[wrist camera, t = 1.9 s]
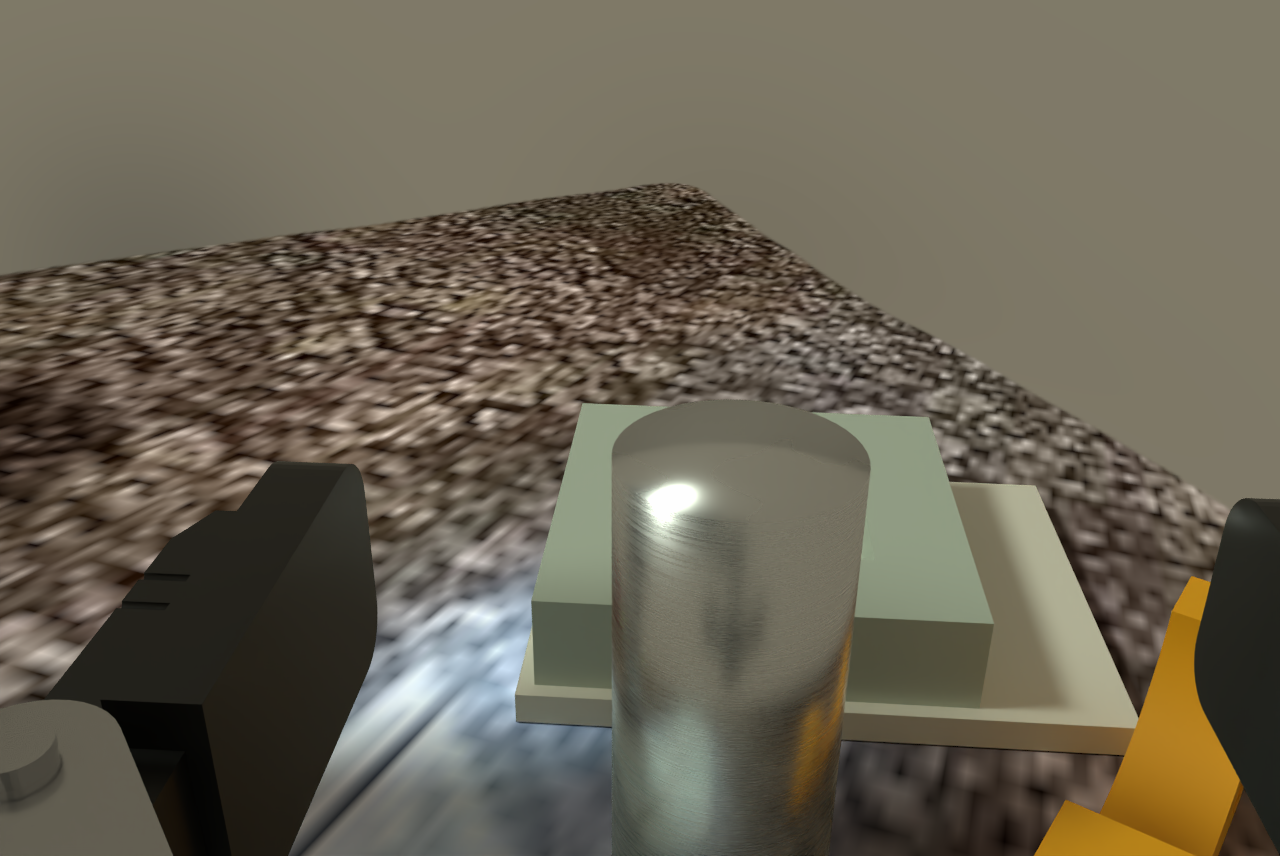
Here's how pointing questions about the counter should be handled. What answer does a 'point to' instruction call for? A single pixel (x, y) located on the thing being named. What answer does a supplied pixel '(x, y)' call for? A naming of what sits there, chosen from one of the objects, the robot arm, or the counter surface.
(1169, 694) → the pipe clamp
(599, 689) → the pale green square frame
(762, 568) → the steel shaft
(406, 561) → the counter surface
